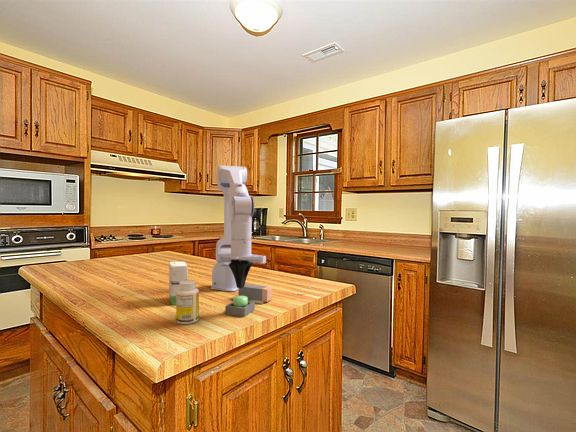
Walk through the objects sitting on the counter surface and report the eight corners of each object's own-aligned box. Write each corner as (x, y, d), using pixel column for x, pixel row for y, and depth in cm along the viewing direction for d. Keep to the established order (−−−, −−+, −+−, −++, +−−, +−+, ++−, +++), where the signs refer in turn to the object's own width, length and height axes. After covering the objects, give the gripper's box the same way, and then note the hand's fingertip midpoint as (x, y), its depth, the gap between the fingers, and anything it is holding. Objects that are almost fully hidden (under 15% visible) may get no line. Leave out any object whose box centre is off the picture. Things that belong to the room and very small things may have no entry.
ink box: (188, 303, 94) (188, 264, 93) (170, 305, 91) (171, 266, 91) (184, 296, 101) (184, 260, 101) (168, 297, 99) (168, 261, 99)
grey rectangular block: (238, 297, 99) (238, 286, 99) (244, 294, 102) (244, 283, 102) (267, 301, 95) (267, 289, 95) (272, 298, 99) (272, 286, 99)
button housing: (225, 313, 85) (225, 305, 85) (236, 307, 91) (236, 299, 91) (244, 316, 83) (244, 308, 83) (254, 309, 89) (254, 302, 89)
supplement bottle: (191, 315, 83) (191, 278, 83) (203, 320, 80) (203, 281, 79) (171, 321, 79) (172, 281, 79) (183, 327, 75) (183, 285, 75)
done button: (230, 308, 86) (230, 298, 86) (237, 304, 90) (237, 295, 89) (243, 310, 84) (243, 300, 84) (250, 306, 88) (250, 296, 88)
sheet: (237, 301, 97) (237, 299, 97) (248, 295, 104) (248, 293, 104) (262, 304, 94) (262, 303, 94) (271, 298, 101) (271, 296, 101)
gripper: (210, 239, 85) (210, 287, 86) (258, 241, 80) (257, 293, 80) (224, 236, 92) (224, 282, 92) (269, 239, 87) (268, 287, 87)
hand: (240, 287), depth 87 cm, fingers closed
